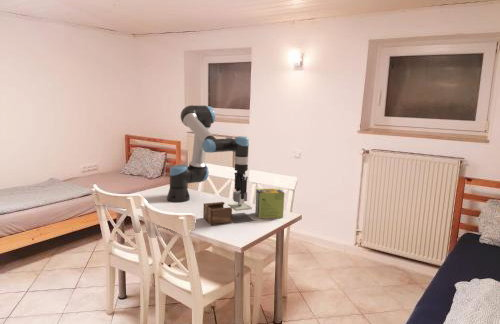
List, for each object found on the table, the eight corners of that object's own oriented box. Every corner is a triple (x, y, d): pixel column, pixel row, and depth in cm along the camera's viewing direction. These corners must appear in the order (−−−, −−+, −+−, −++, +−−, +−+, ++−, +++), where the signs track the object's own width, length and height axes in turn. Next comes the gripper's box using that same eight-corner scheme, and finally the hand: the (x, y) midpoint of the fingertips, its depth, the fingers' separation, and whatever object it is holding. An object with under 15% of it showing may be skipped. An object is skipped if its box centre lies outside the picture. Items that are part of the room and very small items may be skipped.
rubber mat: (225, 215, 212) (225, 214, 212) (243, 213, 217) (243, 212, 217) (235, 223, 198) (235, 222, 198) (254, 220, 203) (254, 220, 203)
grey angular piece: (228, 205, 209) (228, 190, 208) (243, 203, 214) (244, 189, 212) (235, 210, 199) (236, 195, 198) (251, 209, 203) (252, 194, 202)
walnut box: (203, 217, 205) (203, 203, 204) (222, 215, 210) (223, 201, 209) (211, 225, 193) (211, 210, 191) (231, 223, 198) (232, 208, 196)
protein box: (283, 217, 211) (284, 192, 208) (258, 218, 208) (259, 192, 206) (279, 212, 221) (280, 188, 219) (255, 212, 219) (256, 188, 216)
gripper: (229, 161, 208) (228, 199, 212) (241, 166, 193) (239, 207, 197) (241, 160, 211) (240, 198, 215) (253, 165, 196) (252, 206, 200)
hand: (239, 202), depth 206 cm, fingers closed on grey angular piece, 4 cm apart
